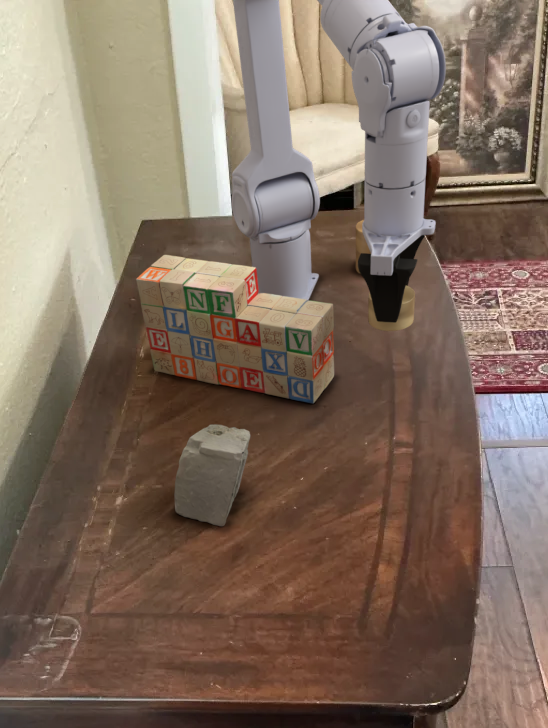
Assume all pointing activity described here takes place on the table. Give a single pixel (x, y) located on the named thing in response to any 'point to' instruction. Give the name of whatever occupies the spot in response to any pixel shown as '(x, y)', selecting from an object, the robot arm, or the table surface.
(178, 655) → the table surface
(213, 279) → the stack of blocks
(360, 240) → the pile chip top
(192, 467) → the mineral specimen
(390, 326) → the tan wooden cylinder
